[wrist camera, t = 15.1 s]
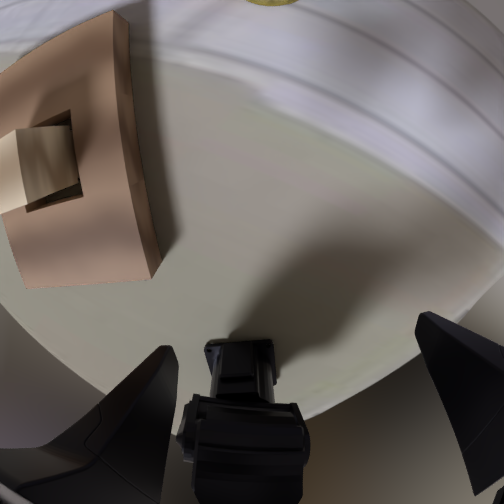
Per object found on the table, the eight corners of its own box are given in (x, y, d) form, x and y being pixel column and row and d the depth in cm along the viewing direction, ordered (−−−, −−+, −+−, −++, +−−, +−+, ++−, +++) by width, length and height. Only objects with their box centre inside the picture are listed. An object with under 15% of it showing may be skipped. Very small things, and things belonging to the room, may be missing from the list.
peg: (91, 178, 19) (27, 204, 12) (52, 189, 19) (-10, 218, 12) (82, 124, 17) (15, 129, 10) (44, 141, 17) (-22, 154, 10)
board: (162, 261, 22) (151, 279, 19) (42, 274, 22) (26, 288, 20) (128, 22, 14) (113, 9, 11) (7, 84, 14) (-13, 83, 12)
